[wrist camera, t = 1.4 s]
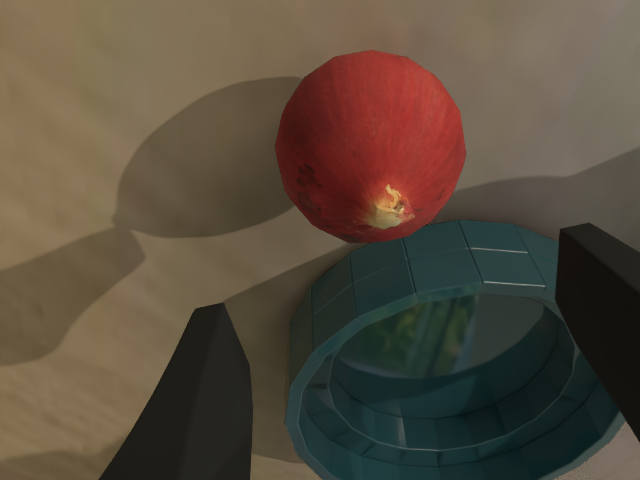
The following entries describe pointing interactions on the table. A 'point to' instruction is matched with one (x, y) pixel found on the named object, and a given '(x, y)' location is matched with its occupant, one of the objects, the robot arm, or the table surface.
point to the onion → (370, 147)
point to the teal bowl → (443, 363)
